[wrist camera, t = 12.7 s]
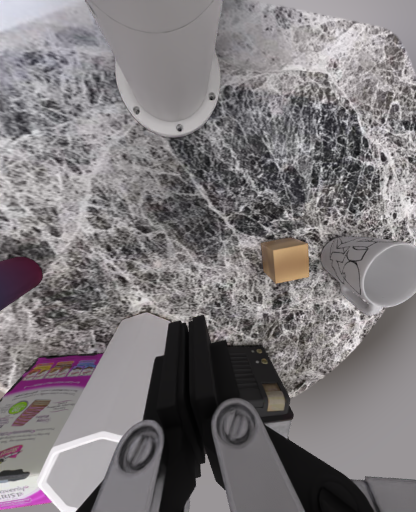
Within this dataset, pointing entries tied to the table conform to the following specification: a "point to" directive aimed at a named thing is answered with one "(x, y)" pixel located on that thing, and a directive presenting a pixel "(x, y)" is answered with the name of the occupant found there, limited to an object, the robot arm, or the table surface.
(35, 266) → the cup
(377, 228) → the table surface
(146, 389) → the cup
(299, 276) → the block
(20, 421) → the candy bar box
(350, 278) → the mug
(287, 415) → the camera
